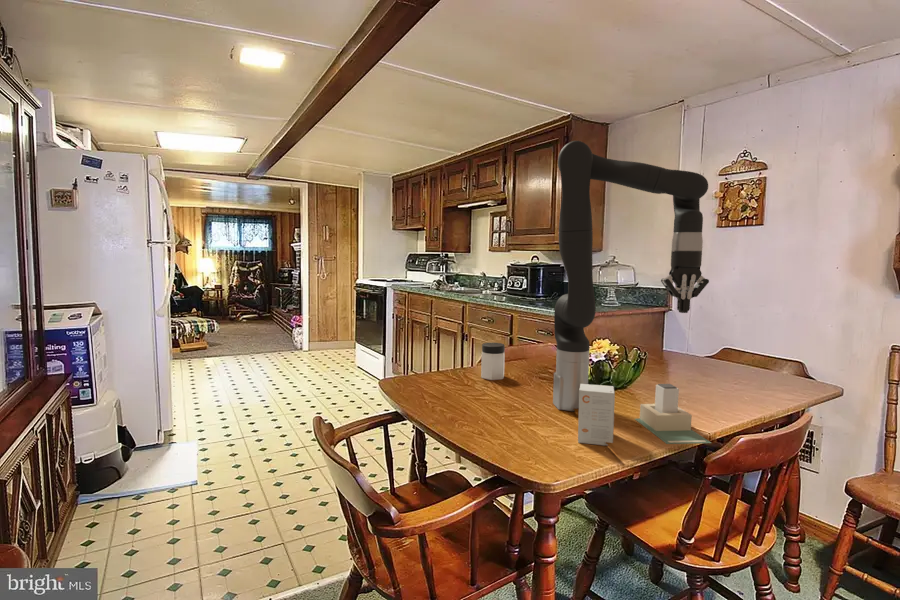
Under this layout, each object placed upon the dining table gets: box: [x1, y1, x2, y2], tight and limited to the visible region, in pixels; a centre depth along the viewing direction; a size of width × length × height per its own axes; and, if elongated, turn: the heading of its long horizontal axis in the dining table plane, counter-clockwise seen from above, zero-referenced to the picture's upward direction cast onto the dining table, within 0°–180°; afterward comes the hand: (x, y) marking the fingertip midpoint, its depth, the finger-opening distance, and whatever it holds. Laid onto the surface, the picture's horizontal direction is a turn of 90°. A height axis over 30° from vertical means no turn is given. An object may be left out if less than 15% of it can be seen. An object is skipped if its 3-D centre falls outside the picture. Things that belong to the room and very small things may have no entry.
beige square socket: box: [639, 402, 693, 431], centre depth 125 cm, size 9×10×4 cm
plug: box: [654, 383, 680, 413], centre depth 125 cm, size 4×5×10 cm
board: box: [634, 417, 712, 445], centre depth 121 cm, size 11×17×1 cm, turn 4°
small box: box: [577, 383, 616, 447], centre depth 116 cm, size 8×6×13 cm
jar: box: [480, 342, 506, 381], centre depth 174 cm, size 9×8×12 cm
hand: (683, 312), depth 133 cm, fingers closed
